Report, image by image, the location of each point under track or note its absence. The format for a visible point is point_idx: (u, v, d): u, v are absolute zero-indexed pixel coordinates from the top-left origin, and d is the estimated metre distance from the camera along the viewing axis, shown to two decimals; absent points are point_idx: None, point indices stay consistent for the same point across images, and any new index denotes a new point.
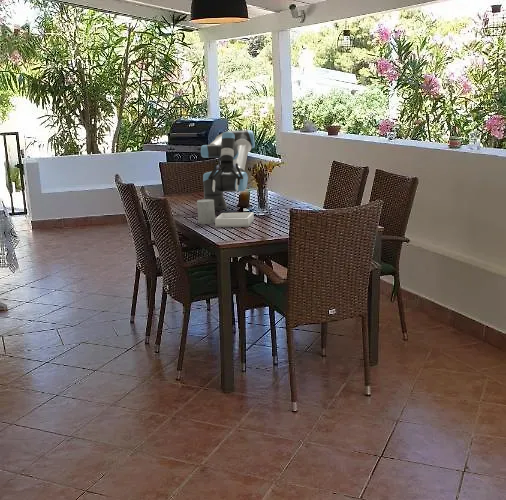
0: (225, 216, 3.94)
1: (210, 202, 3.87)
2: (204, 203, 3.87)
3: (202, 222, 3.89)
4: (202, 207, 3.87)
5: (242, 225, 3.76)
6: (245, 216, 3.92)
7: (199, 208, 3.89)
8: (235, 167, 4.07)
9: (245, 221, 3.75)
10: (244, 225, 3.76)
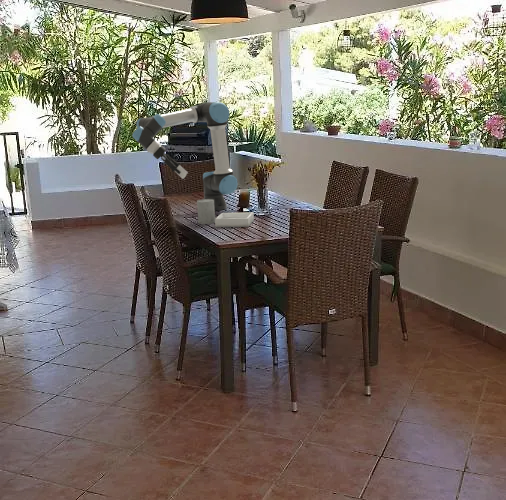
0: (225, 216, 3.94)
1: (210, 202, 3.87)
2: (204, 203, 3.87)
3: (202, 222, 3.89)
4: (202, 207, 3.87)
5: (242, 225, 3.76)
6: (245, 216, 3.92)
7: (199, 208, 3.89)
8: None
9: (245, 221, 3.75)
10: (244, 225, 3.76)
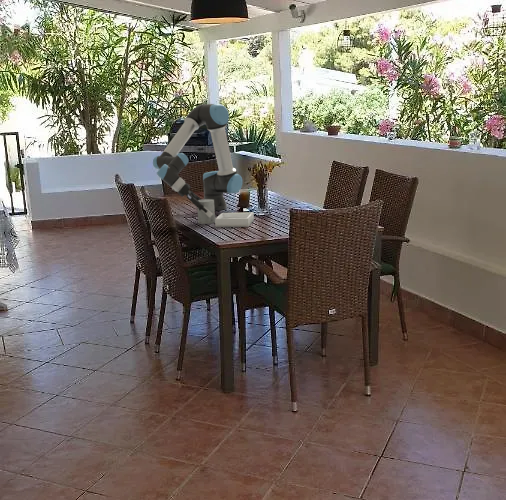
0: (225, 216, 3.94)
1: (210, 202, 3.87)
2: (204, 203, 3.87)
3: (202, 222, 3.89)
4: None
5: (242, 225, 3.76)
6: (245, 216, 3.92)
7: None
8: None
9: (245, 221, 3.75)
10: (244, 225, 3.76)
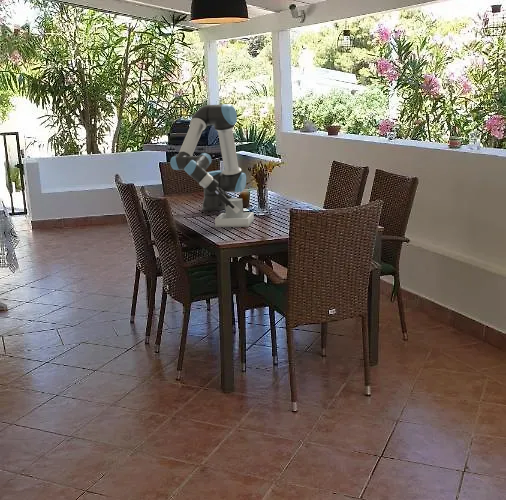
0: (225, 216, 3.94)
1: (239, 201, 3.79)
2: (232, 202, 3.78)
3: None
4: None
5: (242, 225, 3.76)
6: (245, 216, 3.92)
7: (227, 207, 3.80)
8: None
9: (245, 221, 3.75)
10: (244, 225, 3.76)
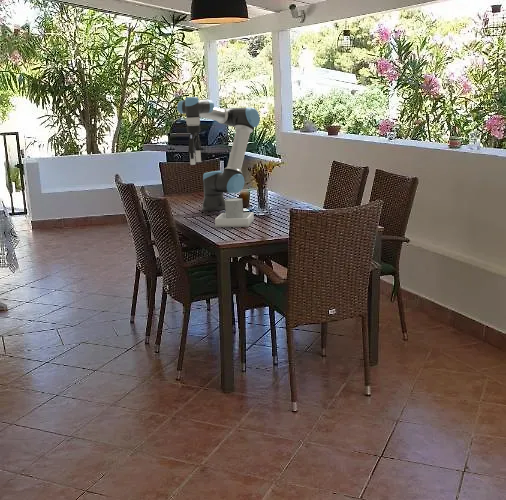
0: (225, 216, 3.94)
1: (238, 201, 3.79)
2: (232, 202, 3.78)
3: None
4: (230, 206, 3.79)
5: (242, 225, 3.76)
6: (245, 216, 3.92)
7: (227, 207, 3.80)
8: None
9: (245, 221, 3.75)
10: (244, 225, 3.76)
